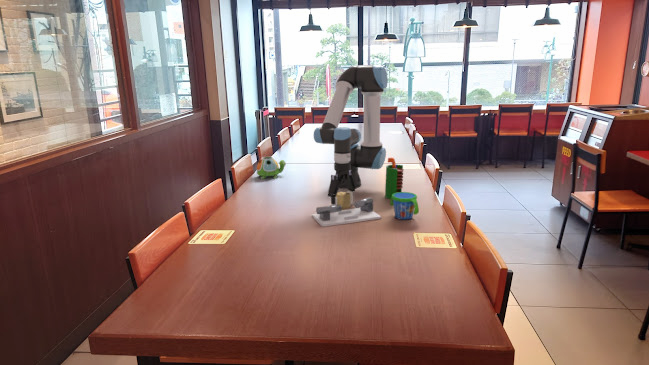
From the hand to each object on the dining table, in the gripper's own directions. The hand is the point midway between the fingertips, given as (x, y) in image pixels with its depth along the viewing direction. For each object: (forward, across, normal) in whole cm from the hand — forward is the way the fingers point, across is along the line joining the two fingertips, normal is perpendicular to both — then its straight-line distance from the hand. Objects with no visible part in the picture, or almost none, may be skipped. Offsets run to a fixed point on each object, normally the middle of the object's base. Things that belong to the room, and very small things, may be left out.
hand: (342, 207), depth 199 cm
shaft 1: (0, -17, -6) cm, 18 cm away
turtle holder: (0, +20, +72) cm, 74 cm away
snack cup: (0, +6, -29) cm, 30 cm away
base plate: (0, -10, -9) cm, 13 cm away
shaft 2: (0, 0, -12) cm, 12 cm away
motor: (0, +30, -9) cm, 32 cm away
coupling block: (0, 0, 0) cm, 0 cm away
